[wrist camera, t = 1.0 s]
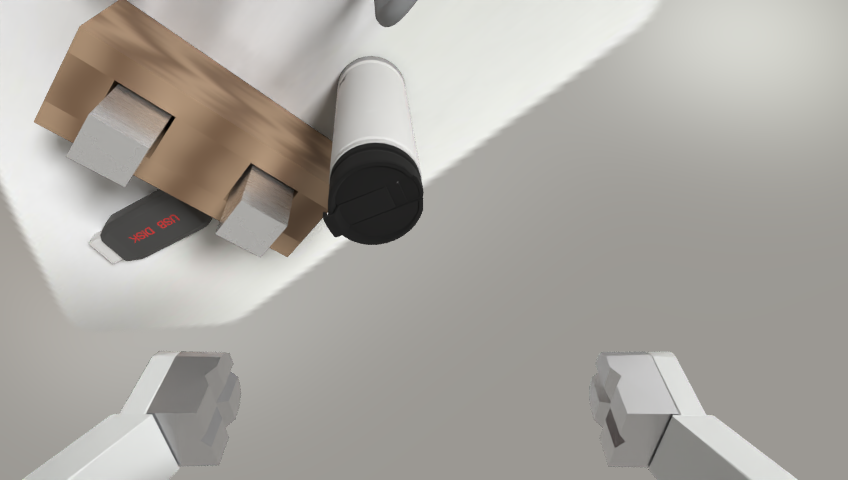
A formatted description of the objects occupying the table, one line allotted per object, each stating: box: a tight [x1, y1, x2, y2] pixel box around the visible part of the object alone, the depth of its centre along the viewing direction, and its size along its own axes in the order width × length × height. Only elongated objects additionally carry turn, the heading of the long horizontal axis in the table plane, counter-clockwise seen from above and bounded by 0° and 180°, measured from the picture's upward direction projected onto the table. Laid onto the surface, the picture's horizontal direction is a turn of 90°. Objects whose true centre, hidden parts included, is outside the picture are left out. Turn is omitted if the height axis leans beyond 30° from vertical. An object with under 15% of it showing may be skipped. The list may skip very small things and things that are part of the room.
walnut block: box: [34, 0, 332, 257], centre depth 45 cm, size 22×9×8 cm, turn 49°
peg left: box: [66, 83, 172, 187], centre depth 38 cm, size 4×4×7 cm
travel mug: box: [323, 56, 423, 245], centre depth 40 cm, size 6×7×20 cm
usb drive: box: [89, 189, 212, 264], centre depth 54 cm, size 5×12×3 cm, turn 116°
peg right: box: [215, 163, 294, 258], centre depth 43 cm, size 4×4×7 cm
